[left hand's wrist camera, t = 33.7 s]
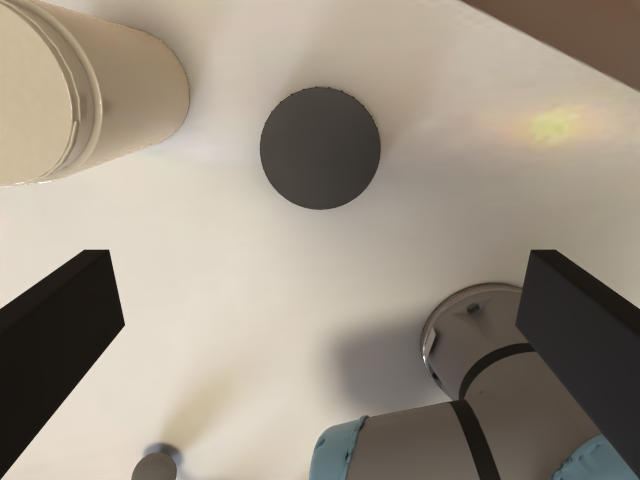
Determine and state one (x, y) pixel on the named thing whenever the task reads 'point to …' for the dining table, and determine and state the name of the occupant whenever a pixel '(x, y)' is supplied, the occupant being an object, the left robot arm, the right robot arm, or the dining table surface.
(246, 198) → the dining table surface
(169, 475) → the molecular model
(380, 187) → the dining table surface
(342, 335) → the dining table surface
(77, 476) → the dining table surface
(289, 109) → the lid
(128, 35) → the jar
